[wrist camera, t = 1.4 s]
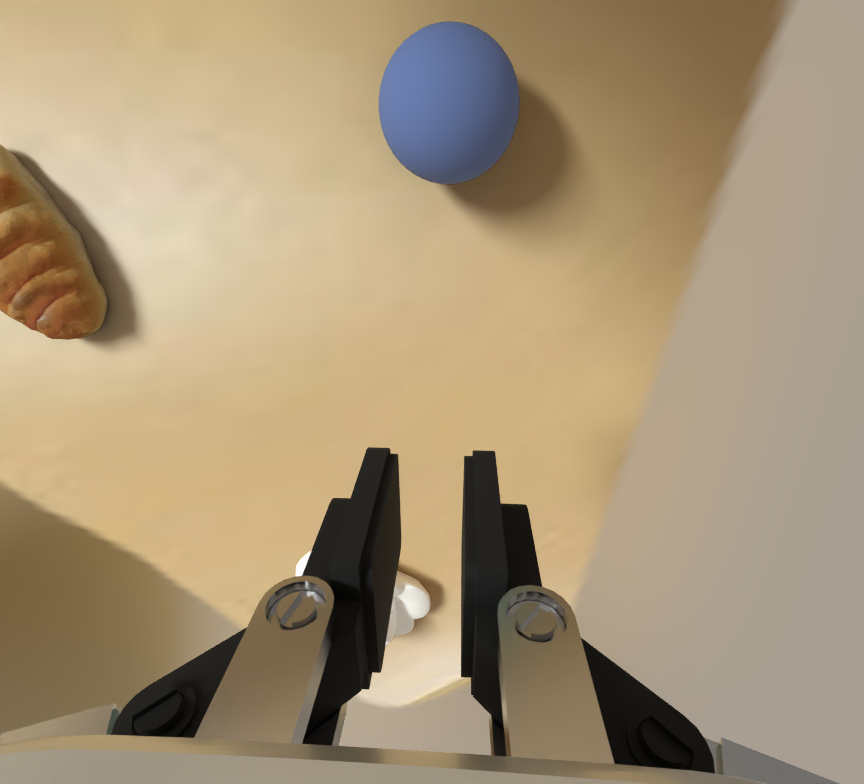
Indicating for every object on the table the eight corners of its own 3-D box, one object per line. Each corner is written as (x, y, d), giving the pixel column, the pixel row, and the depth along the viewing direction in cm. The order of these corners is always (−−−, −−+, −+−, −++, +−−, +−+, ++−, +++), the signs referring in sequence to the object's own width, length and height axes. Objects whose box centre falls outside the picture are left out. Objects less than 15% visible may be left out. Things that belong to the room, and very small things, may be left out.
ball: (365, 88, 22) (336, 68, 17) (476, 9, 20) (480, -39, 15) (428, 204, 24) (419, 216, 19) (533, 139, 22) (554, 133, 17)
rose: (405, 575, 28) (443, 682, 32) (412, 524, 32) (445, 625, 36) (247, 597, 30) (302, 697, 34) (273, 545, 34) (319, 640, 38)
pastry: (149, 293, 27) (101, 314, 23) (70, 354, 28) (16, 382, 25) (4, 127, 23) (-76, 123, 20) (-74, 208, 25) (-158, 217, 22)
